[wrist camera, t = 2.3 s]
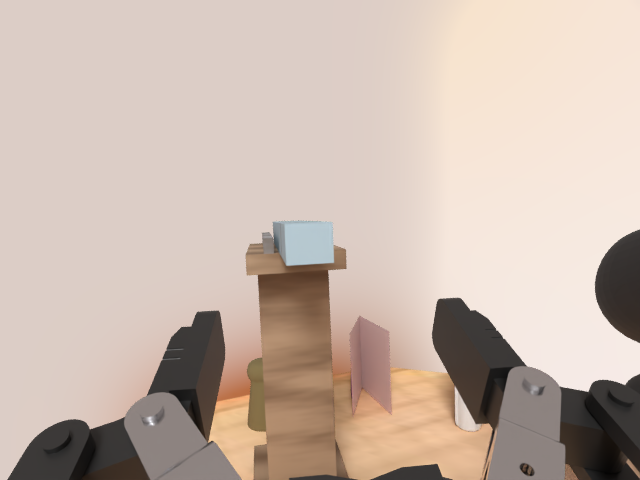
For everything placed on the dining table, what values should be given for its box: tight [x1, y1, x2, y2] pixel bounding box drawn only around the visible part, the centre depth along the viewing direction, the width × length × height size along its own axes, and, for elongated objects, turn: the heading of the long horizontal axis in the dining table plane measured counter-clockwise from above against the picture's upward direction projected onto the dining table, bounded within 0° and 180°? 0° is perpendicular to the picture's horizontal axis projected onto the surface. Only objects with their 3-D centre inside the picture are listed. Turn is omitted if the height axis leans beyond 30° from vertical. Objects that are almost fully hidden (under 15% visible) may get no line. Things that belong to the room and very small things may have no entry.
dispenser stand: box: [246, 233, 349, 480], centre depth 45 cm, size 18×12×34 cm, turn 9°
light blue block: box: [273, 221, 334, 266], centre depth 38 cm, size 24×4×3 cm, turn 9°
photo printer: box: [455, 387, 482, 432], centre depth 63 cm, size 10×4×12 cm, turn 150°
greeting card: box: [350, 316, 392, 416], centre depth 69 cm, size 11×7×15 cm, turn 165°
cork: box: [247, 358, 266, 431], centre depth 64 cm, size 6×6×11 cm
